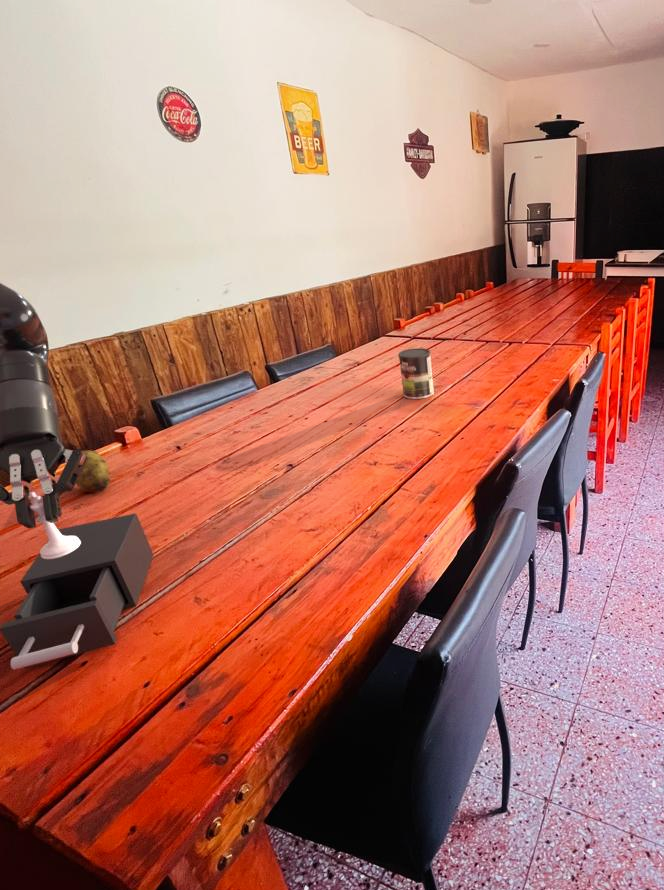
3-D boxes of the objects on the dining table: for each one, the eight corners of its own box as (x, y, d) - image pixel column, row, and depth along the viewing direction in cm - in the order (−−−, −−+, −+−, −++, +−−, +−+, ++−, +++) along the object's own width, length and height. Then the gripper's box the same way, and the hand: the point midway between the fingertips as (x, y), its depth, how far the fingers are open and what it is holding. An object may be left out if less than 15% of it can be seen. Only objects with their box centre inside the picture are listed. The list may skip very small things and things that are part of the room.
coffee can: (420, 401, 163) (415, 358, 157) (397, 396, 169) (391, 354, 163) (440, 391, 171) (436, 350, 165) (417, 386, 176) (412, 346, 170)
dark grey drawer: (105, 671, 72) (83, 630, 68) (8, 698, 69) (-20, 657, 65) (135, 587, 88) (119, 551, 84) (58, 606, 85) (37, 569, 81)
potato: (70, 502, 117) (56, 472, 113) (79, 479, 127) (66, 450, 124) (113, 492, 120) (100, 462, 117) (118, 470, 131) (106, 442, 127)
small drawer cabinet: (136, 605, 85) (115, 560, 81) (47, 628, 81) (19, 581, 77) (153, 555, 97) (136, 513, 93) (77, 572, 94) (55, 529, 89)
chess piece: (62, 537, 80) (34, 482, 75) (88, 540, 79) (61, 484, 74) (32, 557, 75) (0, 500, 71) (59, 560, 74) (29, 502, 70)
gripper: (90, 417, 83) (107, 516, 79) (-17, 436, 78) (-5, 544, 73) (70, 396, 76) (87, 503, 72) (-49, 416, 71) (-38, 533, 67)
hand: (40, 523), depth 73 cm, fingers closed on chess piece
